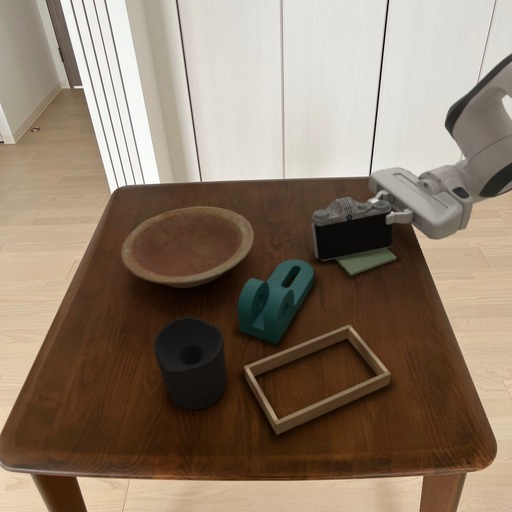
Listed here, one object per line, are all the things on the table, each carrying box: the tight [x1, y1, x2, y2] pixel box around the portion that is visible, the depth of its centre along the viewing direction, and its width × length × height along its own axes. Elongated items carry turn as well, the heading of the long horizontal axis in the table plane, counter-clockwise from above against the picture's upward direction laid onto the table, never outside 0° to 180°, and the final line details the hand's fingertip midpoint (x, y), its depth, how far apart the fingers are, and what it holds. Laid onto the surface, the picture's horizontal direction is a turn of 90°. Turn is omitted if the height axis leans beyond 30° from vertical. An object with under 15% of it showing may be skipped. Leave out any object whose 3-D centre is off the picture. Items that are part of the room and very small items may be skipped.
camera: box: [311, 196, 394, 262], centre depth 94 cm, size 15×7×10 cm, turn 99°
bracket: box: [237, 259, 314, 345], centre depth 85 cm, size 18×7×8 cm, turn 153°
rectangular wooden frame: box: [243, 324, 392, 436], centre depth 74 cm, size 11×18×2 cm, turn 115°
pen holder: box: [153, 316, 227, 411], centre depth 72 cm, size 9×9×10 cm
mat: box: [333, 248, 397, 277], centre depth 97 cm, size 10×10×1 cm
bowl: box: [120, 205, 255, 289], centre depth 93 cm, size 24×24×8 cm
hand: (376, 212), depth 93 cm, fingers closed on camera, 3 cm apart
